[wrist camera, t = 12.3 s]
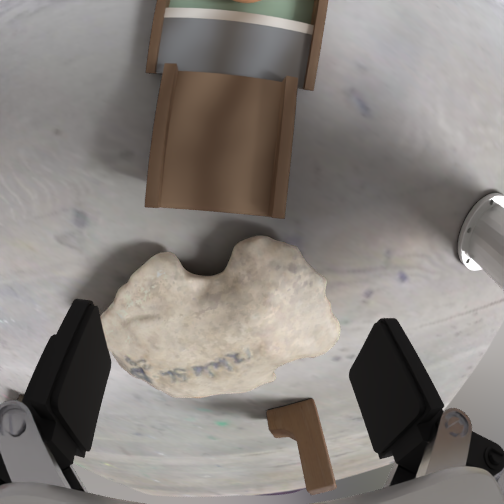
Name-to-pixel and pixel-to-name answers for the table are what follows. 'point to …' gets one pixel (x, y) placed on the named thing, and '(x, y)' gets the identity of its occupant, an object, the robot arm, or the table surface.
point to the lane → (229, 101)
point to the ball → (247, 1)
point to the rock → (220, 320)
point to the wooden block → (305, 442)
